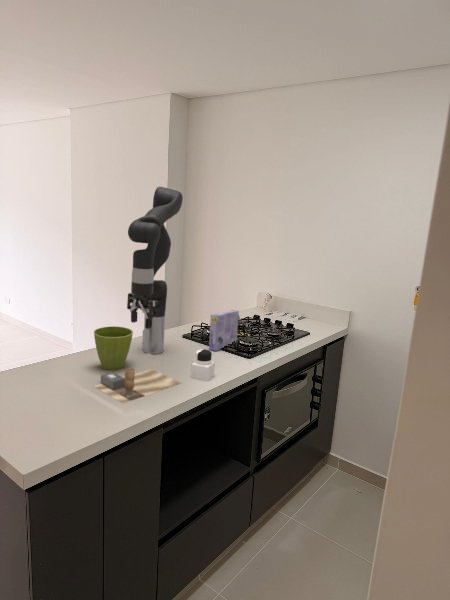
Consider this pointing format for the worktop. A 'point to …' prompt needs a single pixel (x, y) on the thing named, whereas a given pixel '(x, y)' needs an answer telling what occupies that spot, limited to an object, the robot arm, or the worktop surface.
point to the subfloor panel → (141, 386)
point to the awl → (129, 380)
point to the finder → (112, 380)
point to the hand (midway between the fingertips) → (141, 325)
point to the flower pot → (113, 346)
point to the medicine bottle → (203, 365)
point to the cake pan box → (223, 329)
